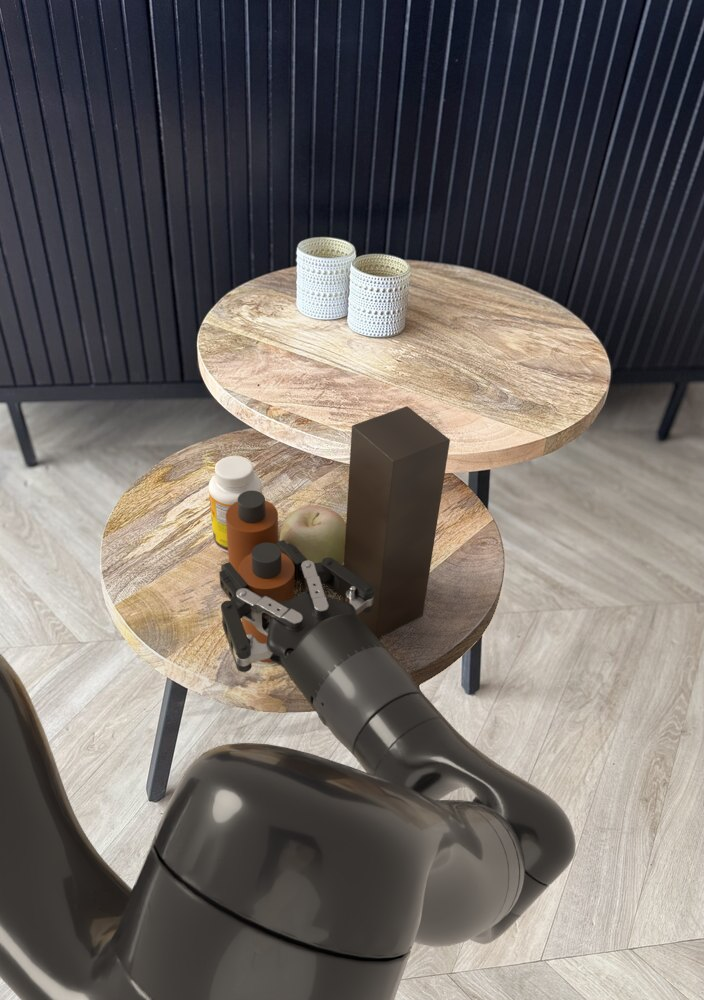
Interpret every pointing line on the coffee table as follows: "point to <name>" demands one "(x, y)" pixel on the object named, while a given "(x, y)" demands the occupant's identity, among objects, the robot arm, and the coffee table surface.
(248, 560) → the amber bottle
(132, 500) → the coffee table surface
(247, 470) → the supplement bottle
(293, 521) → the fruit
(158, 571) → the coffee table surface
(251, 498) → the amber bottle
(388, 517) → the pedestal
